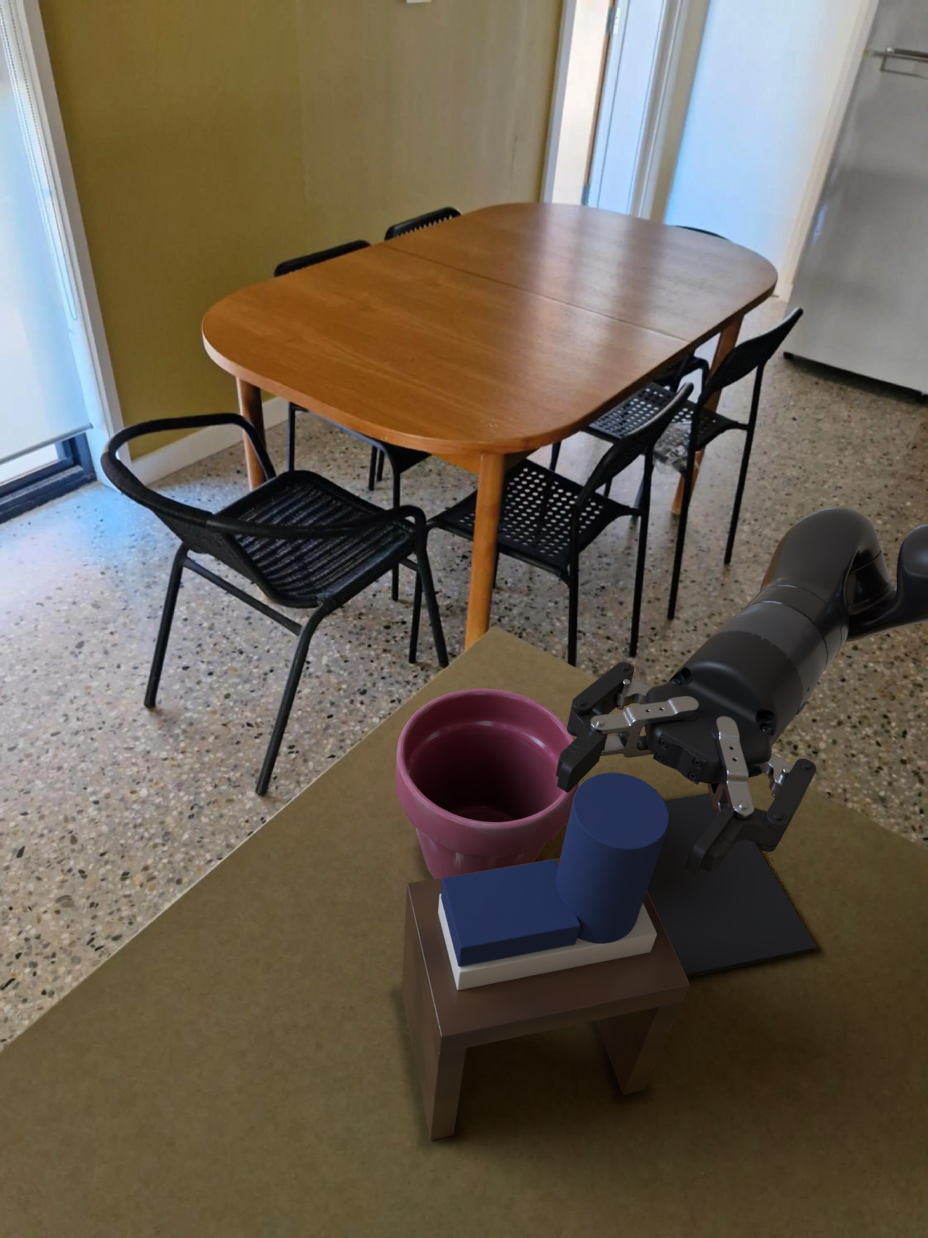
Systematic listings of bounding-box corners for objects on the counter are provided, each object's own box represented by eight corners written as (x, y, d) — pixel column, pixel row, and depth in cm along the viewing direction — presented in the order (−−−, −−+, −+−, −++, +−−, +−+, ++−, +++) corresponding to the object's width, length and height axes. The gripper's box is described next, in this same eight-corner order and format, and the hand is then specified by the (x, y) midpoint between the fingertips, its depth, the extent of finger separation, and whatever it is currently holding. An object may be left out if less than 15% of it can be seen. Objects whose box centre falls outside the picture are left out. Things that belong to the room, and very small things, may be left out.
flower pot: (377, 803, 78) (378, 699, 70) (526, 776, 82) (543, 674, 74) (416, 947, 68) (422, 844, 60) (585, 909, 71) (612, 806, 63)
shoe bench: (644, 1090, 61) (690, 985, 52) (429, 1141, 57) (440, 1037, 49) (593, 958, 68) (627, 846, 59) (401, 996, 65) (406, 883, 56)
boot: (619, 880, 57) (653, 765, 50) (650, 952, 53) (692, 839, 46) (437, 912, 55) (447, 795, 48) (457, 991, 51) (471, 877, 44)
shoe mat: (815, 951, 70) (817, 947, 69) (675, 980, 67) (677, 976, 67) (722, 795, 82) (724, 790, 81) (601, 814, 79) (602, 810, 79)
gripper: (668, 588, 61) (530, 711, 51) (873, 687, 54) (762, 850, 44) (647, 670, 66) (517, 797, 55) (833, 769, 59) (724, 934, 49)
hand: (626, 820), depth 50 cm, fingers open, 8 cm apart
